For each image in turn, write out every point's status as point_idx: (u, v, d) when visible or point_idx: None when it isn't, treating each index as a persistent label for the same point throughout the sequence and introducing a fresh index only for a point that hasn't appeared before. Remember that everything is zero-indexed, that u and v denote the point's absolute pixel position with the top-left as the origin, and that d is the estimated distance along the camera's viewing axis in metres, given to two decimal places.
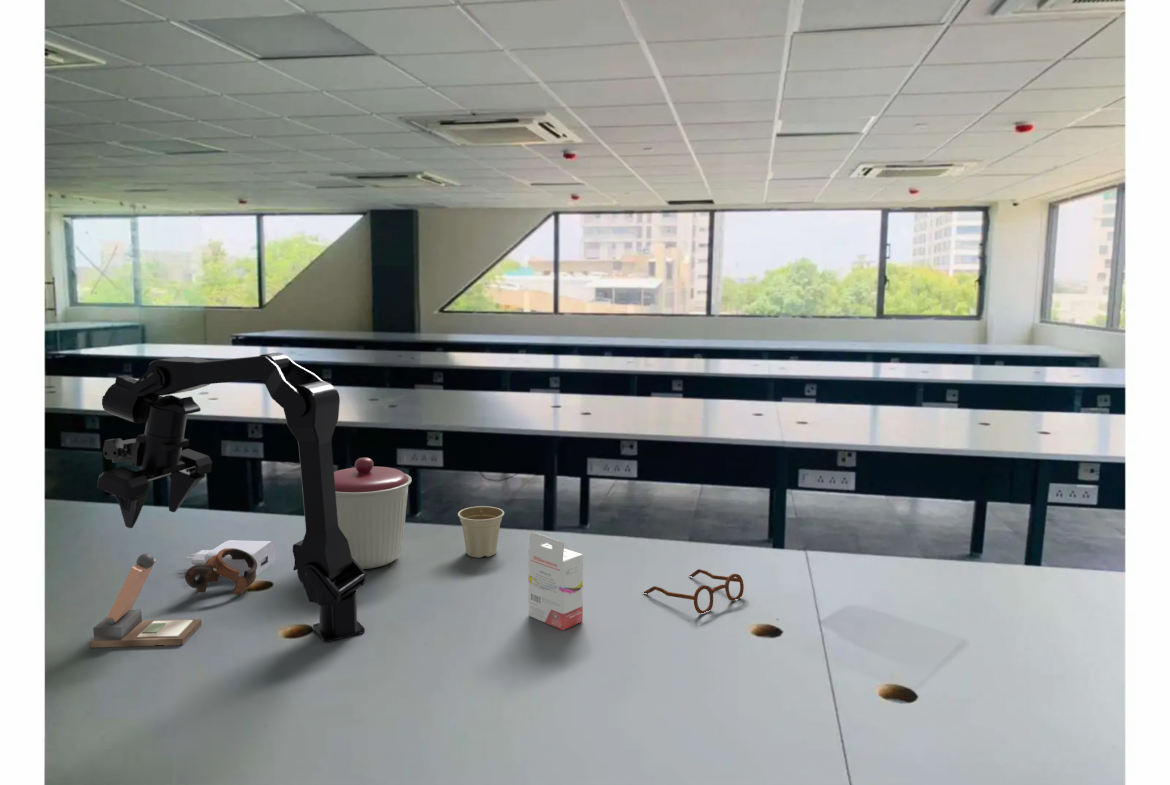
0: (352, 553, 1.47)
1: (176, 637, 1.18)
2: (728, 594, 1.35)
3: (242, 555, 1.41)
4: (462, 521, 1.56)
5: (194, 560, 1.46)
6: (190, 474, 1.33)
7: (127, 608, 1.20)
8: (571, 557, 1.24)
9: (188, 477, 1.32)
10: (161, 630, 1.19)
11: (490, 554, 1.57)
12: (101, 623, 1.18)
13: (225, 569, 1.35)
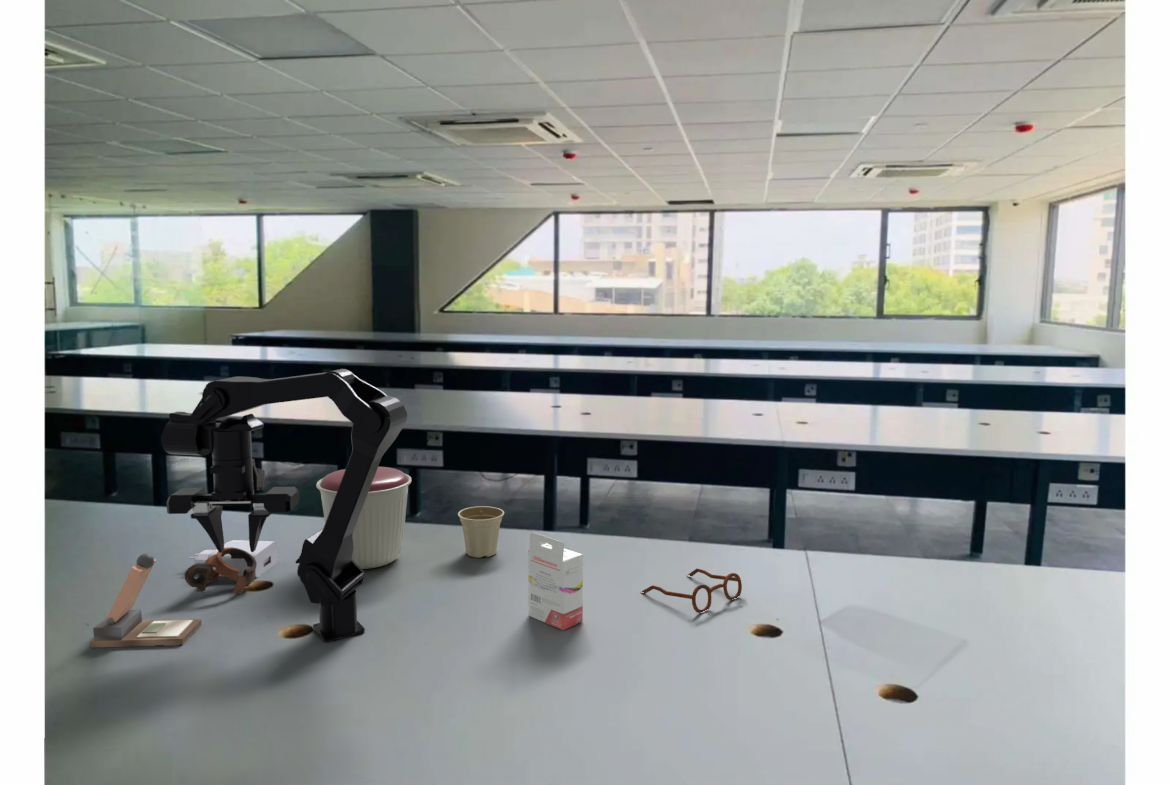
0: None
1: (176, 637, 1.18)
2: (726, 593, 1.35)
3: (241, 555, 1.42)
4: (462, 521, 1.56)
5: (197, 560, 1.46)
6: (255, 511, 1.22)
7: (127, 608, 1.20)
8: (571, 557, 1.24)
9: None
10: (161, 630, 1.19)
11: (490, 554, 1.57)
12: (101, 623, 1.18)
13: (224, 568, 1.35)
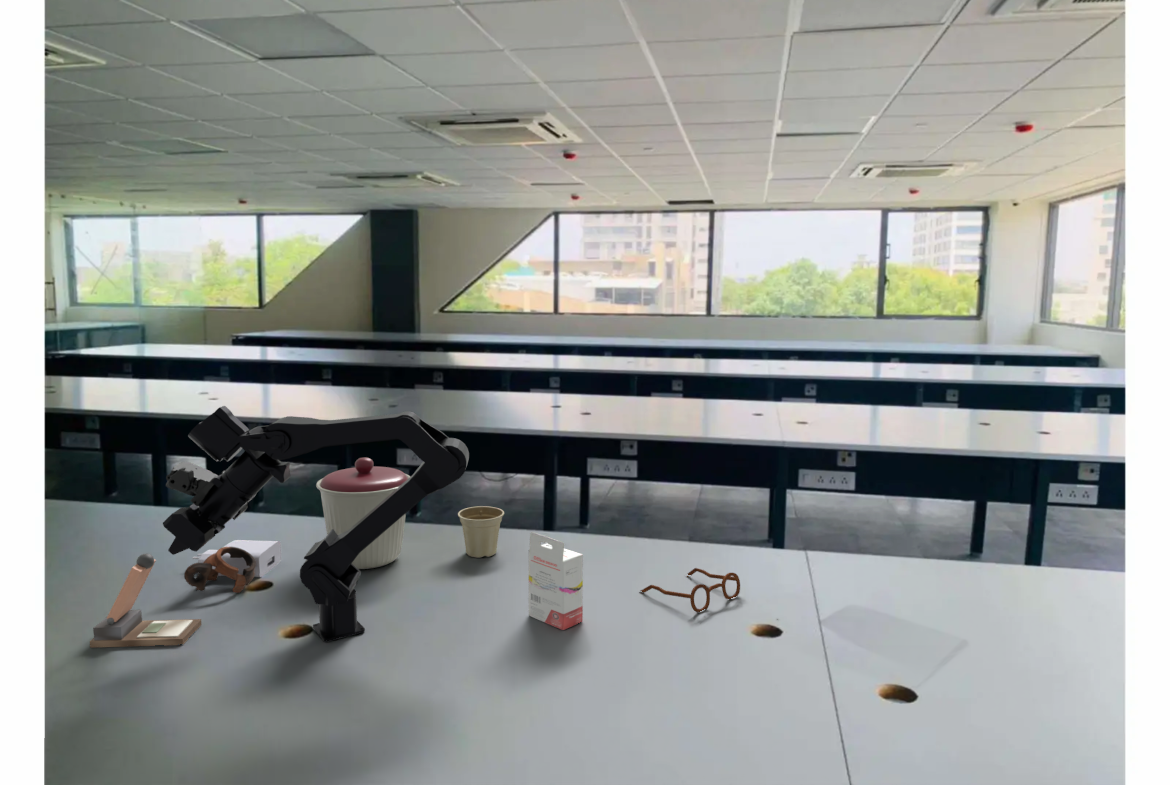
0: None
1: (176, 637, 1.18)
2: (725, 593, 1.36)
3: (240, 554, 1.42)
4: (462, 521, 1.56)
5: (201, 560, 1.46)
6: None
7: (127, 608, 1.20)
8: (571, 557, 1.24)
9: None
10: (161, 630, 1.19)
11: (490, 554, 1.57)
12: (101, 623, 1.18)
13: (224, 567, 1.36)
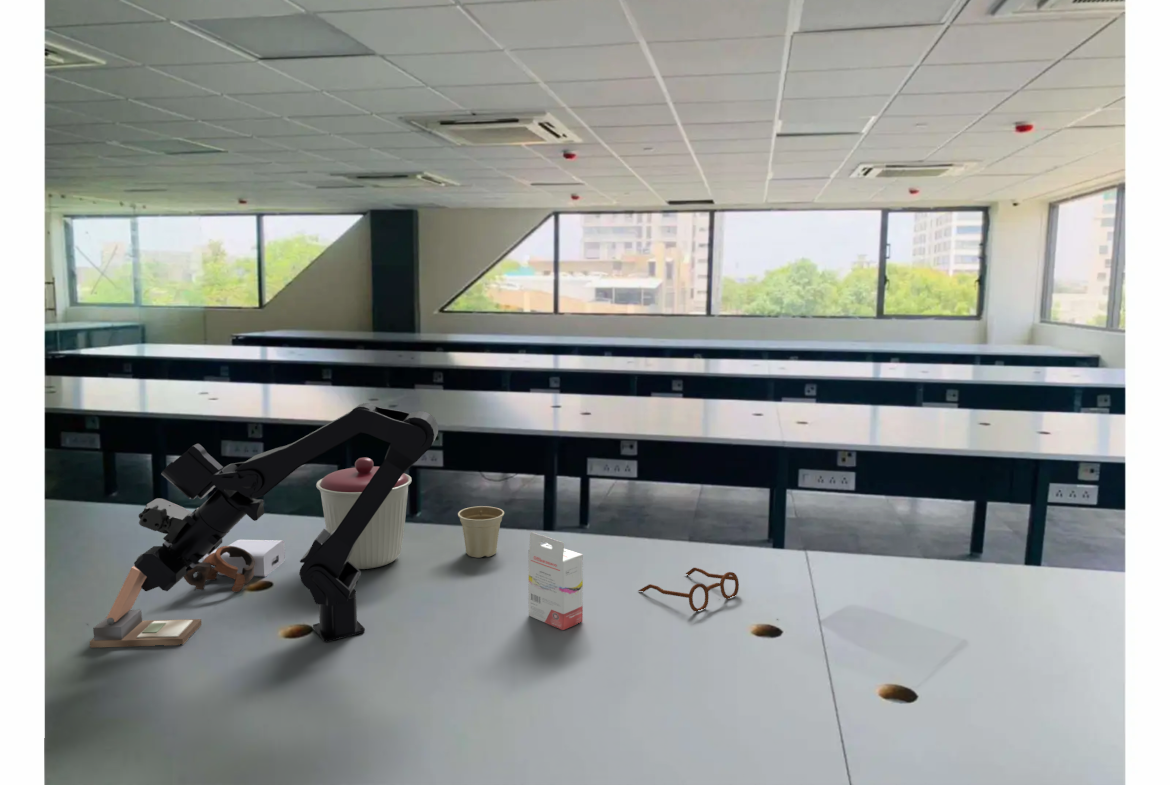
0: (352, 553, 1.47)
1: (176, 637, 1.18)
2: (723, 592, 1.36)
3: (240, 553, 1.42)
4: (462, 521, 1.56)
5: None
6: None
7: (127, 608, 1.20)
8: (571, 557, 1.24)
9: None
10: (161, 630, 1.19)
11: (490, 554, 1.57)
12: (101, 623, 1.18)
13: (223, 566, 1.36)
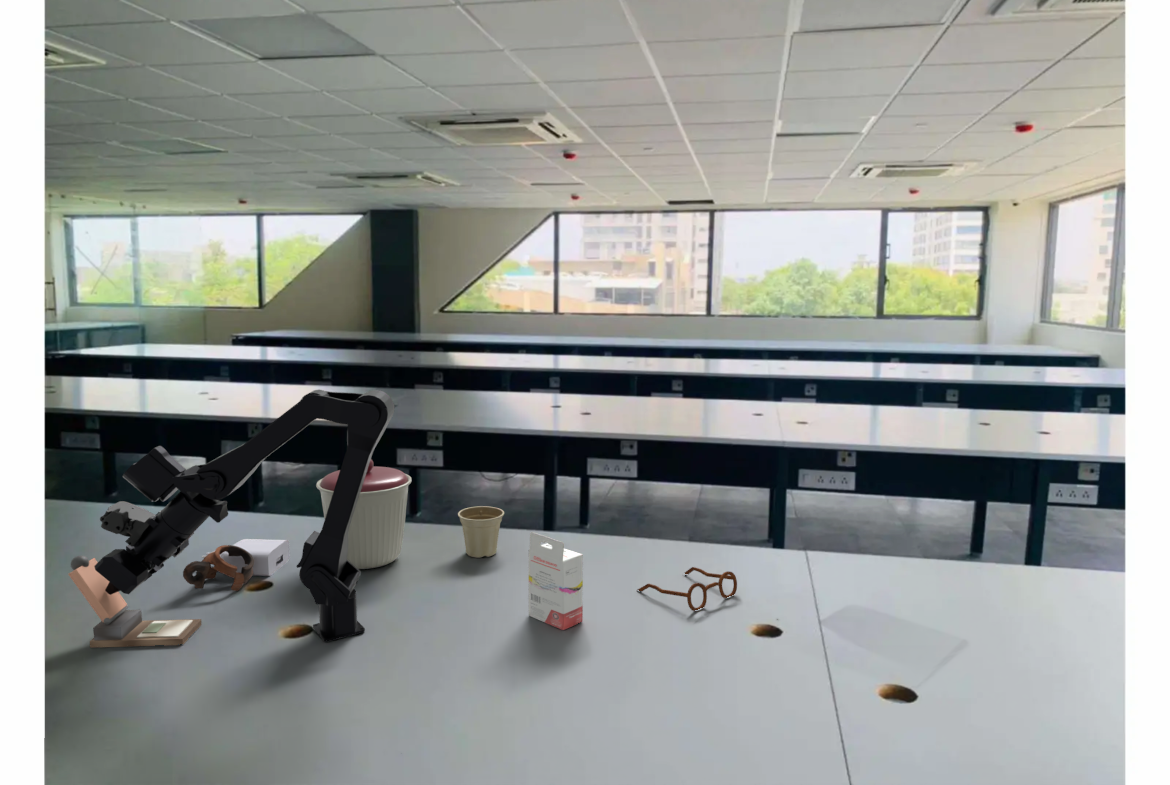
0: (352, 553, 1.47)
1: (176, 637, 1.18)
2: (721, 591, 1.36)
3: (239, 552, 1.43)
4: (462, 521, 1.56)
5: None
6: None
7: (116, 604, 1.19)
8: (571, 557, 1.24)
9: None
10: (161, 630, 1.19)
11: (490, 554, 1.57)
12: (101, 623, 1.18)
13: (222, 565, 1.36)
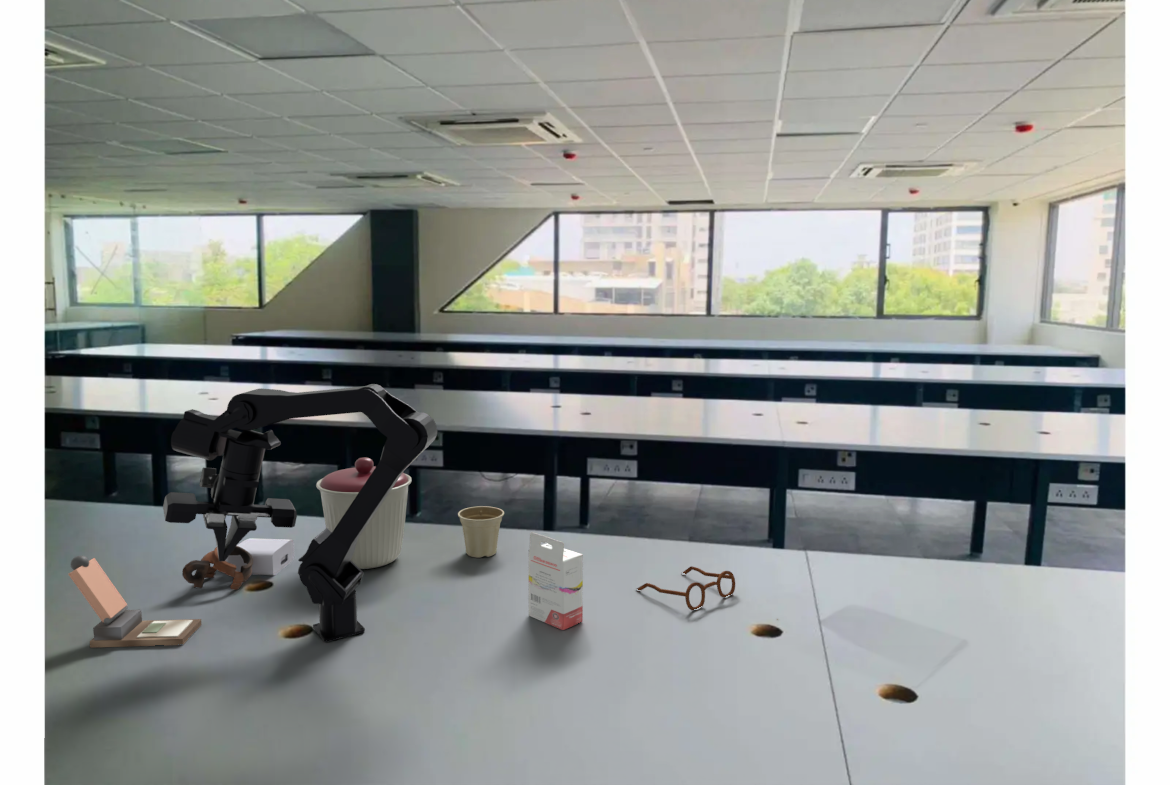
0: None
1: (176, 637, 1.18)
2: (720, 591, 1.37)
3: (238, 551, 1.43)
4: (462, 521, 1.56)
5: None
6: (240, 522, 1.21)
7: (116, 604, 1.19)
8: (571, 557, 1.24)
9: (236, 525, 1.20)
10: (161, 630, 1.19)
11: (490, 554, 1.57)
12: (101, 623, 1.18)
13: (222, 564, 1.37)
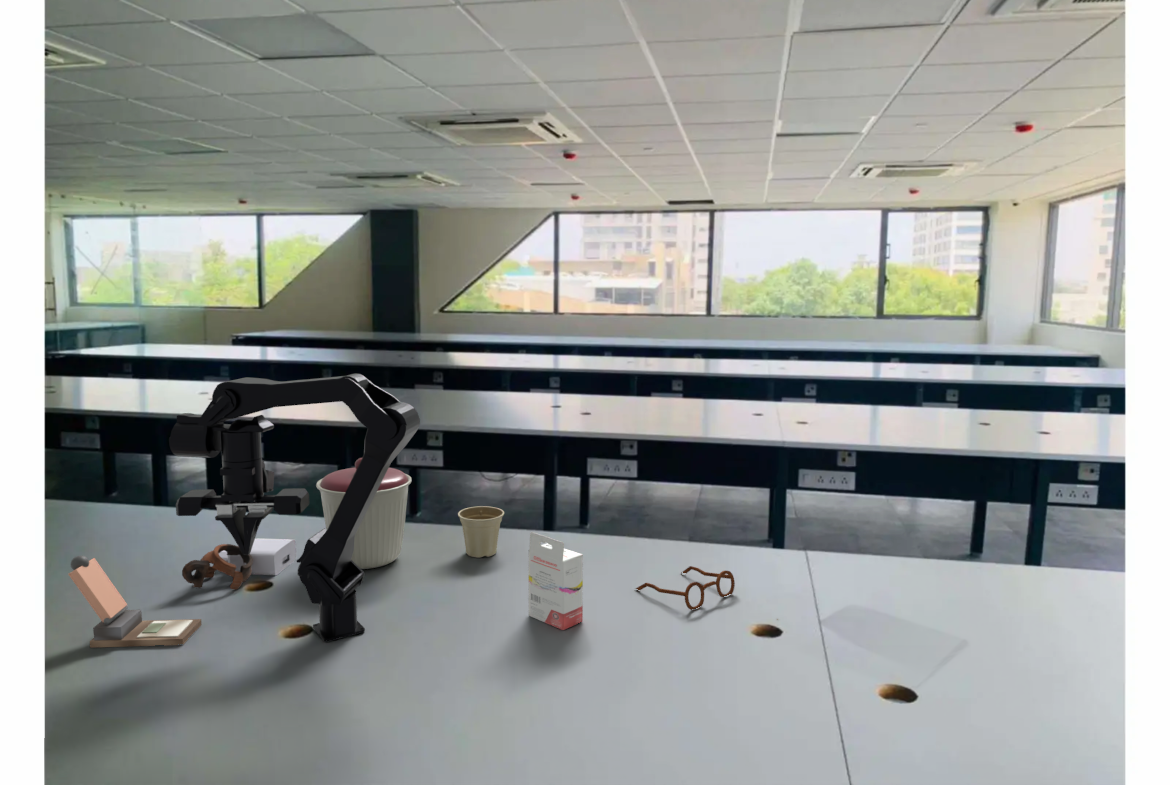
0: None
1: (176, 637, 1.18)
2: (719, 590, 1.37)
3: (237, 551, 1.43)
4: (462, 521, 1.56)
5: None
6: (250, 513, 1.20)
7: (116, 604, 1.19)
8: (571, 557, 1.24)
9: None
10: (161, 630, 1.19)
11: (490, 554, 1.57)
12: (101, 623, 1.18)
13: (221, 564, 1.37)
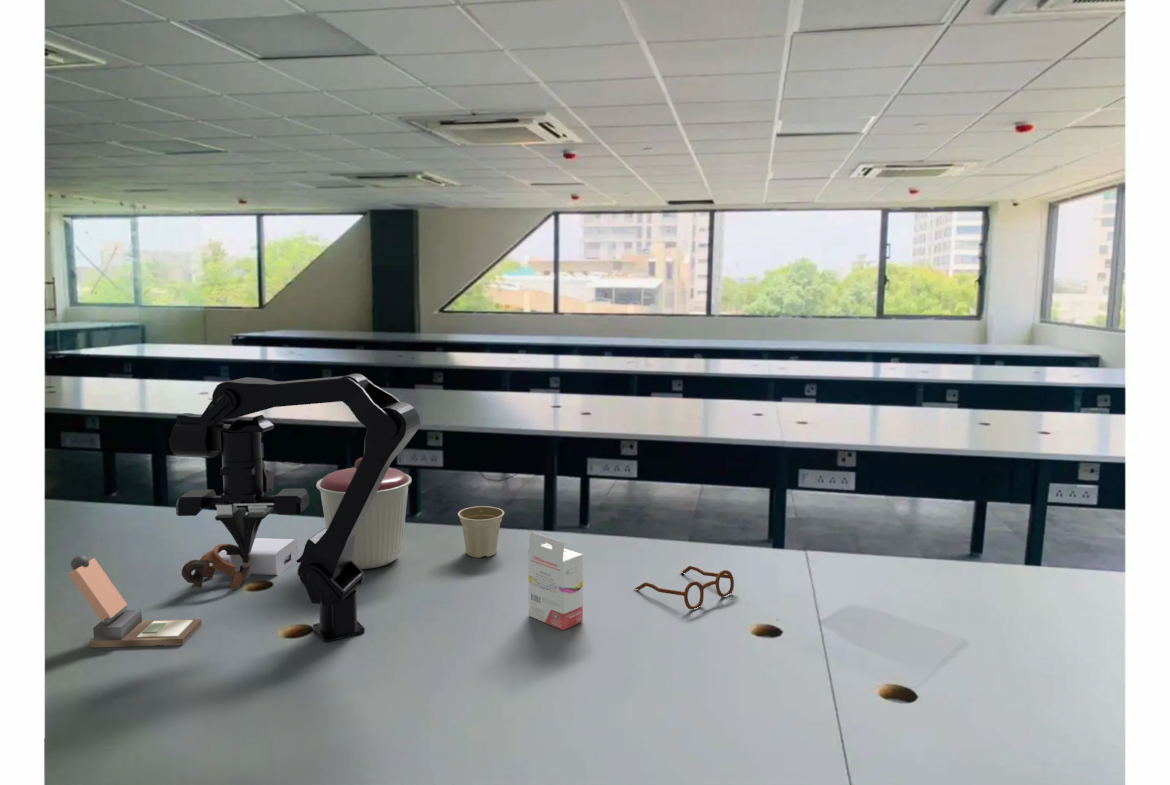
0: None
1: (176, 637, 1.18)
2: (718, 590, 1.37)
3: (237, 551, 1.44)
4: (462, 521, 1.56)
5: None
6: (250, 513, 1.20)
7: (116, 604, 1.19)
8: (571, 557, 1.24)
9: None
10: (161, 630, 1.19)
11: (490, 554, 1.57)
12: (101, 623, 1.18)
13: (221, 564, 1.37)
